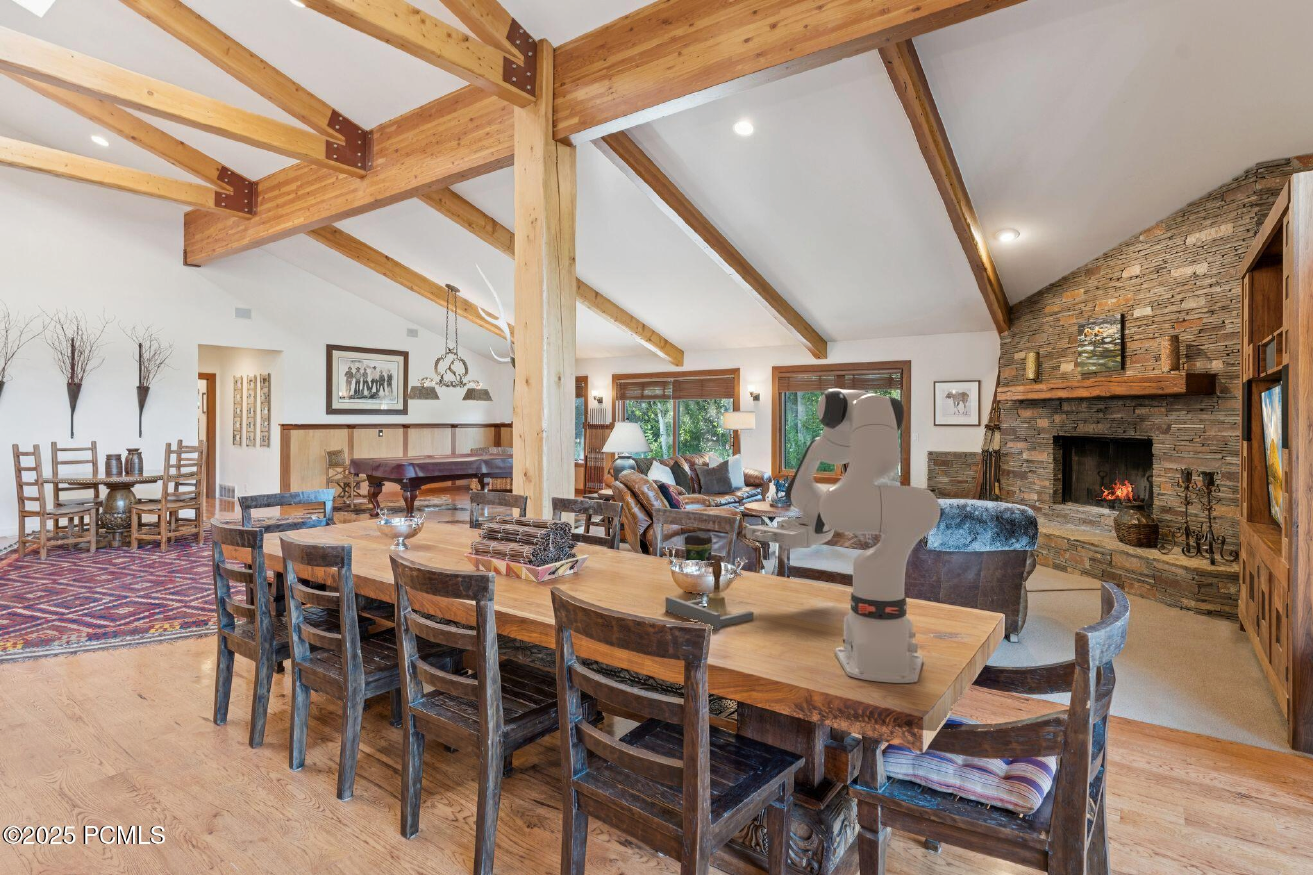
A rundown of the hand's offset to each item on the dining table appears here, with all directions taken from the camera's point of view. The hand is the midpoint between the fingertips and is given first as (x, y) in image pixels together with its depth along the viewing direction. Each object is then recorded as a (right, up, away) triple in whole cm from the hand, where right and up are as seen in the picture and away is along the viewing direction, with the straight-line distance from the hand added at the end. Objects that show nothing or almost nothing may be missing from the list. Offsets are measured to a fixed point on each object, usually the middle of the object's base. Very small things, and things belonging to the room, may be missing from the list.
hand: (756, 537), depth 191 cm
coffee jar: (-15, -20, +23) cm, 34 cm away
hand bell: (-12, -21, -6) cm, 25 cm away
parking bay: (-14, -21, -8) cm, 26 cm away
